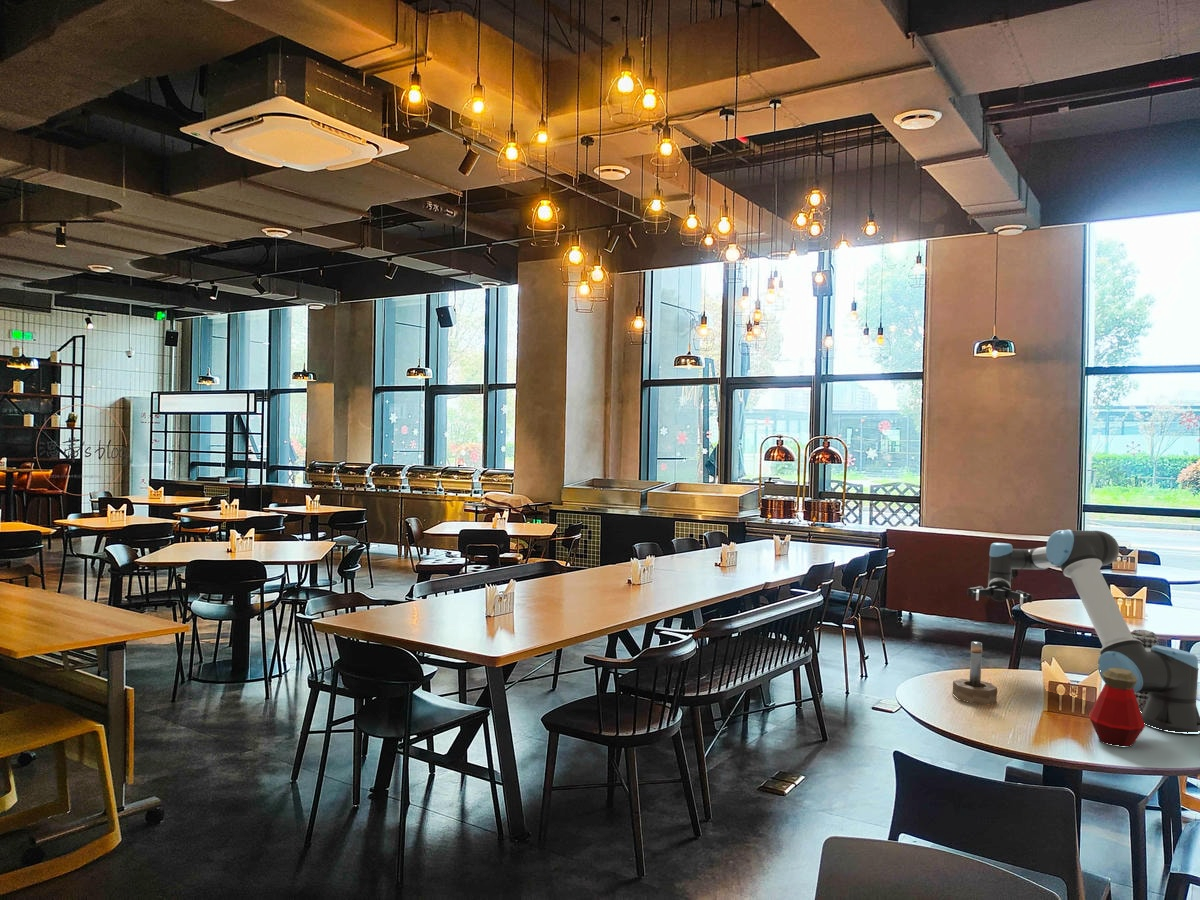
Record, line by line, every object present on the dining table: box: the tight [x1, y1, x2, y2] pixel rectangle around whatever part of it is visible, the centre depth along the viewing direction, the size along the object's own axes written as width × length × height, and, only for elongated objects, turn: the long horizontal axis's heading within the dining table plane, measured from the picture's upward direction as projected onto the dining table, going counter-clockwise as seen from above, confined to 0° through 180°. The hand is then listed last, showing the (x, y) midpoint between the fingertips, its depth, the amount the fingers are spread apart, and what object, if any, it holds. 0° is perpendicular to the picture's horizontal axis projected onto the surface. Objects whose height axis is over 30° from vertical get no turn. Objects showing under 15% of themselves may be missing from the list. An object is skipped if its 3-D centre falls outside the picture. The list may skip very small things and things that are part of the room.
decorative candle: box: [1130, 629, 1159, 712], centre depth 264 cm, size 9×9×25 cm
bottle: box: [1088, 668, 1146, 747], centre depth 234 cm, size 16×14×20 cm
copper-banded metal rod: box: [969, 641, 983, 688], centre depth 270 cm, size 3×3×18 cm
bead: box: [952, 678, 998, 705], centre depth 270 cm, size 12×12×4 cm
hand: (999, 598), depth 283 cm, fingers open, 13 cm apart
